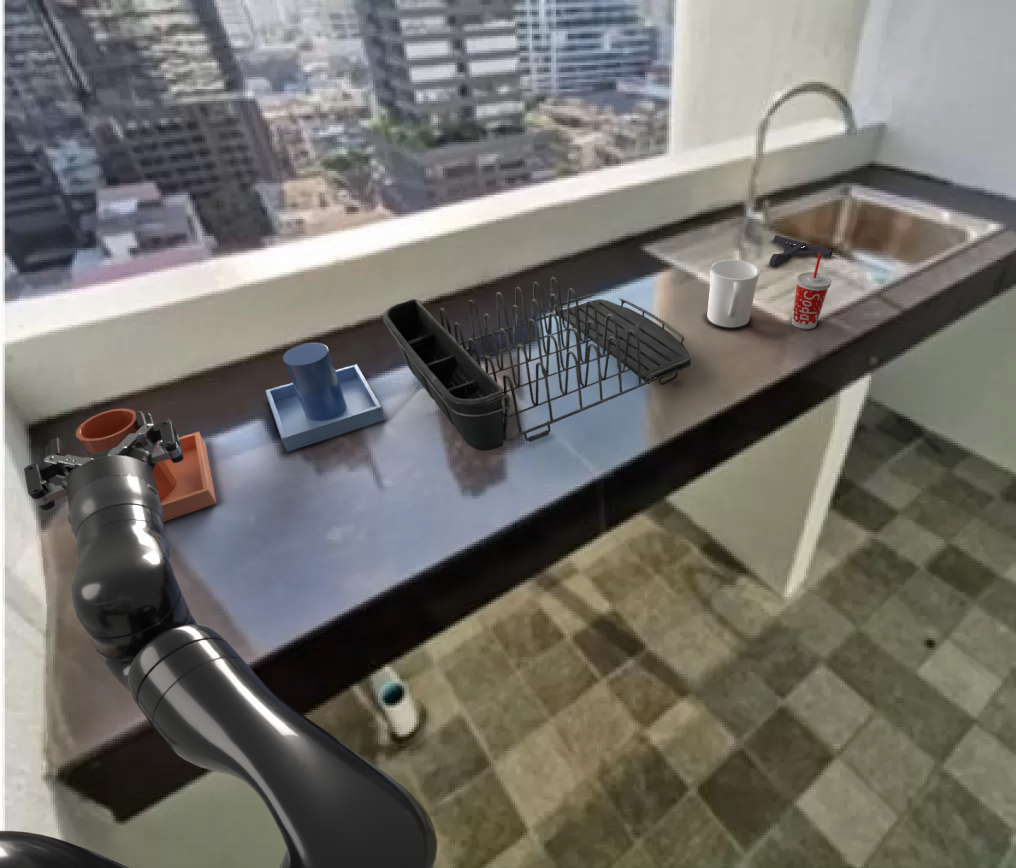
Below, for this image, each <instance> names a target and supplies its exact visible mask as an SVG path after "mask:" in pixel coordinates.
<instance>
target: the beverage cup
mask: <svg viewBox="0 0 1016 868" xmlns="http://www.w3.org/2000/svg"><path fill="white" fill-rule="evenodd" d="M821 254H822V252H819V254H818V255H817V260H816V263H815V268H814V271H813V272H812V271H805V272H801V273H799V274H797V276H796V280H795V282H796V287H795V288H796V289H795V296H794V302H793V309H792V310H793V311H792V316H791V324H792V325H793V327H796V328H799V329H804V330H810V329H814V328H816V327H817V323H818V321H819V317H820V315H821V312H822V309H823V305H824V302H825V300H826V296H827V293H828V290H829V289H830V287H831V284H832V282H833V281H832V278H831V277H830V276H828V275H826V274H824V273H821V272H818V271H819V266H820V262H821V258H822V256H821Z"/></svg>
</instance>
